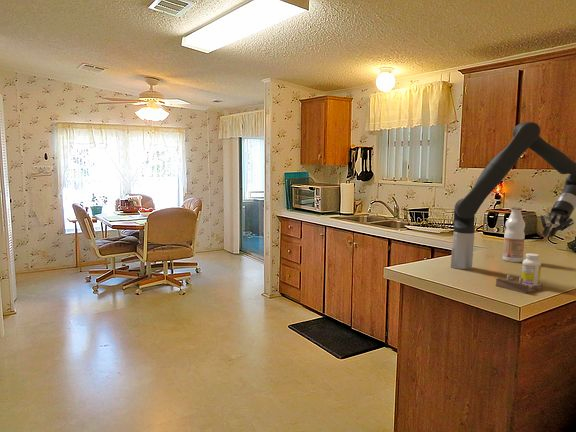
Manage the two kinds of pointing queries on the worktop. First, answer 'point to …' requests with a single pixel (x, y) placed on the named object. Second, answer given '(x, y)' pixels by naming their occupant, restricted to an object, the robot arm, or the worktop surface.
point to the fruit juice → (514, 236)
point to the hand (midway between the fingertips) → (547, 235)
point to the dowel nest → (517, 285)
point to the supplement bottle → (531, 269)
